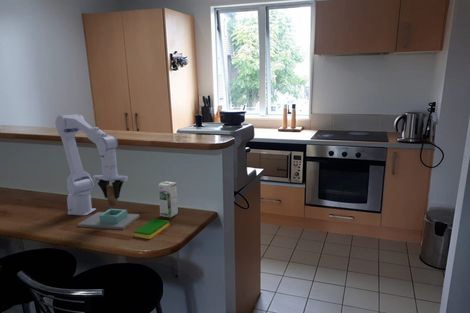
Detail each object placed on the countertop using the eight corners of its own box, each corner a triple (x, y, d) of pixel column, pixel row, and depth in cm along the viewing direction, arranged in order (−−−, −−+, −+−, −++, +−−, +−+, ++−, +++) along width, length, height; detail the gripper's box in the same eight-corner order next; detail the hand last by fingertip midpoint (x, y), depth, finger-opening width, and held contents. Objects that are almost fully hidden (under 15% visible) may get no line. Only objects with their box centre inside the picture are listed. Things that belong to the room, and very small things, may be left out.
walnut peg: (106, 205, 141) (104, 186, 140) (111, 202, 145) (109, 184, 144) (115, 206, 141) (113, 187, 139) (119, 202, 145) (118, 184, 143)
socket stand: (78, 226, 140) (77, 217, 139) (98, 214, 153) (97, 205, 153) (123, 229, 136) (122, 219, 135) (139, 216, 149) (138, 207, 149)
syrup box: (159, 216, 150) (157, 183, 147) (168, 211, 155) (166, 180, 152) (170, 218, 147) (168, 185, 144) (178, 213, 152) (176, 181, 149)
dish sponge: (134, 237, 130) (133, 231, 129) (154, 223, 142) (154, 218, 142) (150, 240, 127) (149, 233, 127) (169, 226, 140) (169, 220, 139)
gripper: (87, 167, 137) (90, 199, 140) (120, 168, 134) (123, 201, 137) (97, 163, 144) (100, 194, 147) (129, 164, 141) (131, 196, 144)
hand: (112, 197), depth 142 cm, fingers closed on walnut peg, 4 cm apart
